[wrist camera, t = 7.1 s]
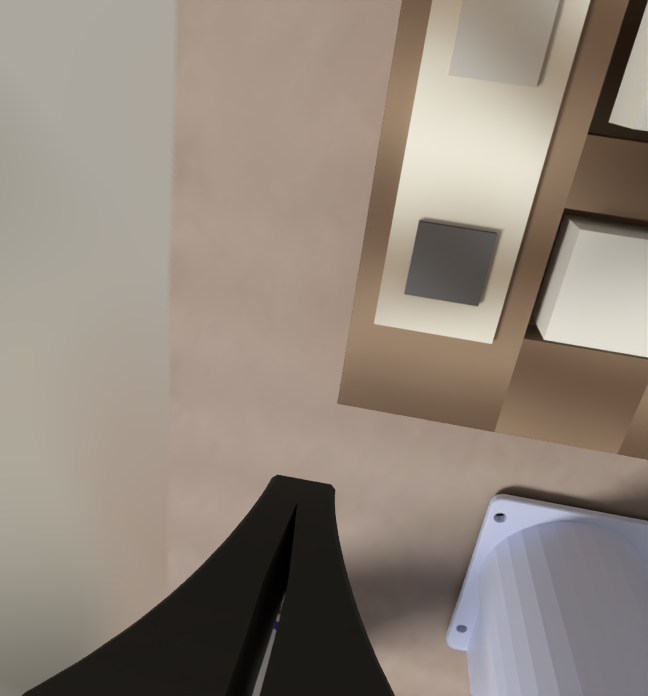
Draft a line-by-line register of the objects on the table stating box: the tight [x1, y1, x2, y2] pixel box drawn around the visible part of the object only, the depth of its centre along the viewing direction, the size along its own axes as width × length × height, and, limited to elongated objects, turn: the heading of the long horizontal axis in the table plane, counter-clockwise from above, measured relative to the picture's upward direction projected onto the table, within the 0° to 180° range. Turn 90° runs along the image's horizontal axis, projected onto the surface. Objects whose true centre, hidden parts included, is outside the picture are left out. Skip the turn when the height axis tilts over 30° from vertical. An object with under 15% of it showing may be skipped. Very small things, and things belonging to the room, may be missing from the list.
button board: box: [337, 0, 648, 460], centre depth 16 cm, size 25×12×2 cm, turn 173°
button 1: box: [532, 214, 648, 357], centre depth 18 cm, size 4×4×2 cm
